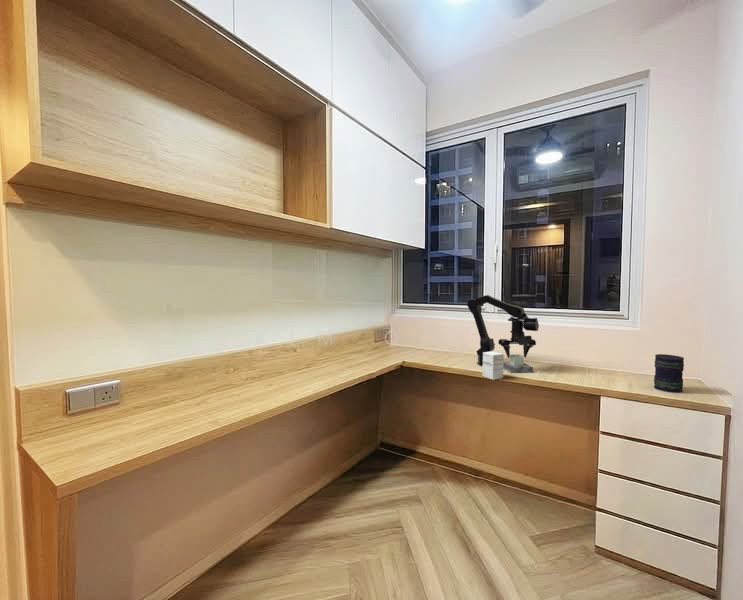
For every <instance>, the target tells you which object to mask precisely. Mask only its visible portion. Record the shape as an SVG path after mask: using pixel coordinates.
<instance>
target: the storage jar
mask: <svg viewBox="0 0 743 600" xmlns="http://www.w3.org/2000/svg"><path fill="white" fill-rule="evenodd" d="M654 357H655V358H654V368H655V370H654V371H655V374H654V377H653V382H654V383H653V384H654V386H653V389H655V390H658V391H661V392H666V393H672V394H674V393H675V394H681V393H683V387H684V379H683V372H684V370H685V369H684V367H685V364H684V362H685V361H684V359H685V357H682V356H679V355H674V354H667V353H666V354H662V353H661V354H657V353H656V354H655V355H654Z"/></svg>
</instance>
